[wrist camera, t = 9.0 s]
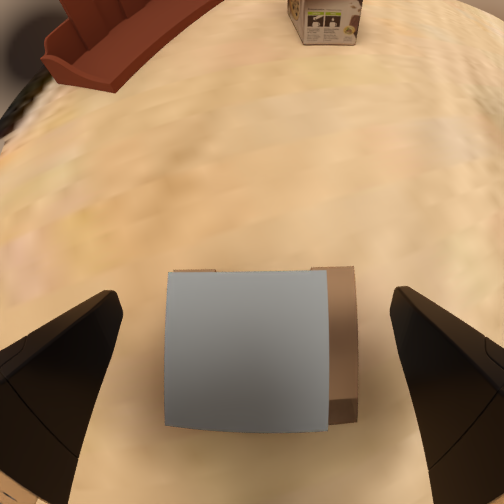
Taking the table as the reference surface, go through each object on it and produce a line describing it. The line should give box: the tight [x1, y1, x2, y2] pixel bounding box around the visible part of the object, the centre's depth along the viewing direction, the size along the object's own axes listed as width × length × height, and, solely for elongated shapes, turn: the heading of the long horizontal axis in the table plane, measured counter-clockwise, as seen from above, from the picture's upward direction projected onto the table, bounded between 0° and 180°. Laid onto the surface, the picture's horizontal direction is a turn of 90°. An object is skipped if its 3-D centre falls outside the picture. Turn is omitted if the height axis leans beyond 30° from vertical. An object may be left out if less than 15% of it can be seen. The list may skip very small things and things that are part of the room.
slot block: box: [174, 266, 358, 425], centre depth 17 cm, size 9×10×2 cm
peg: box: [164, 270, 329, 433], centre depth 13 cm, size 4×4×12 cm
